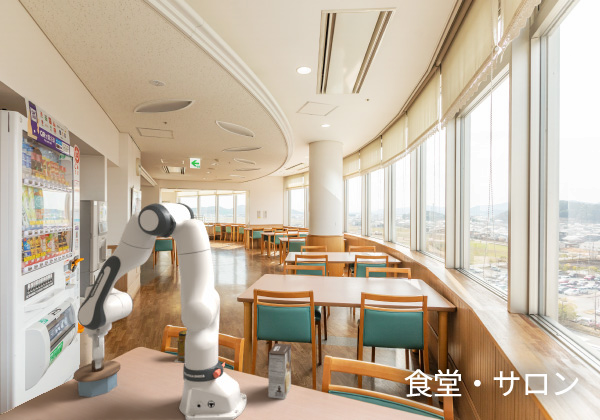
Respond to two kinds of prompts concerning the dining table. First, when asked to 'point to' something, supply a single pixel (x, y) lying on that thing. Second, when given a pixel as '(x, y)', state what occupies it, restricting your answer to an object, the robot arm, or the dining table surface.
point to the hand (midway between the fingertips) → (98, 362)
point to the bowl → (97, 386)
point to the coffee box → (279, 370)
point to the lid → (96, 371)
